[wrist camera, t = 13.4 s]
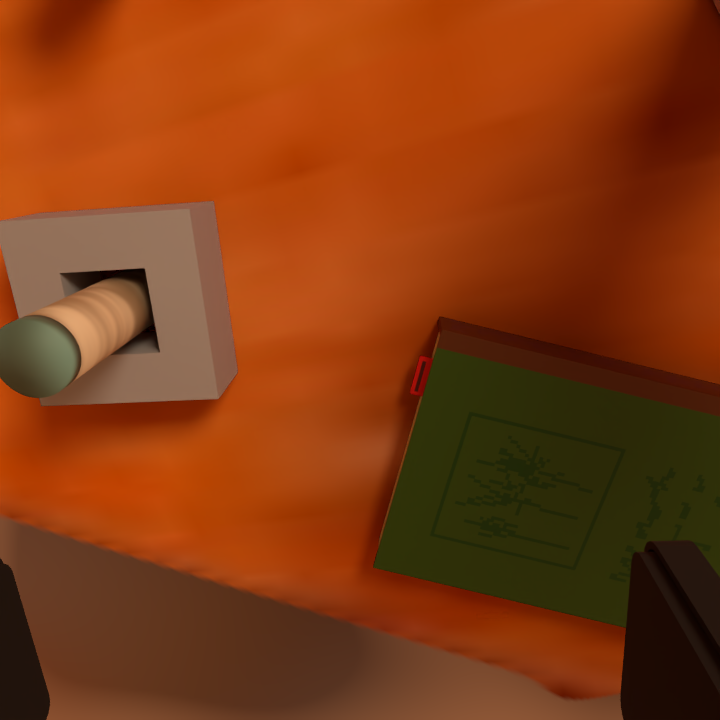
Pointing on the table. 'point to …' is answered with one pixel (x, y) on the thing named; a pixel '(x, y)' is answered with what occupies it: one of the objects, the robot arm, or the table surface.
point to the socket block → (166, 288)
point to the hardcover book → (549, 471)
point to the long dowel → (74, 334)
